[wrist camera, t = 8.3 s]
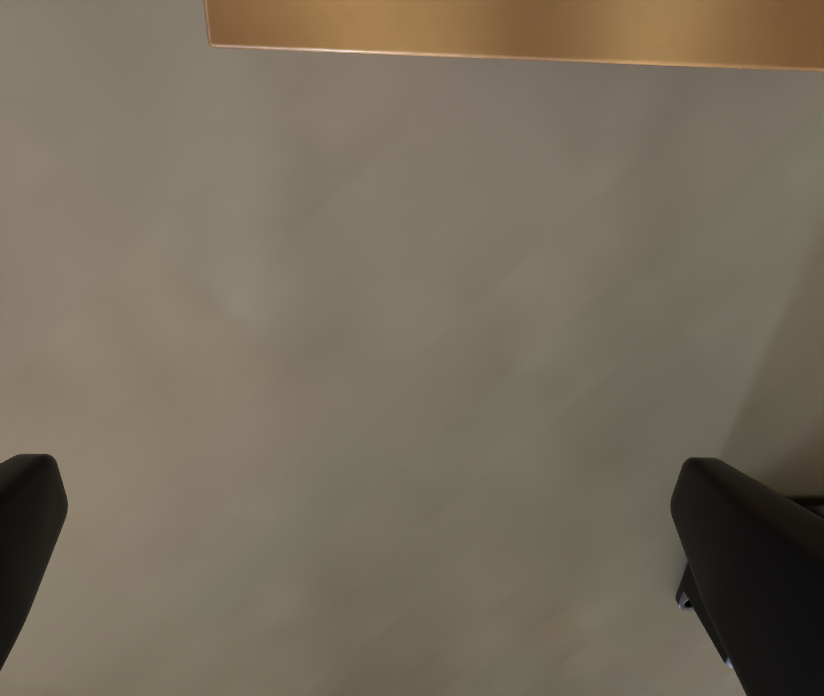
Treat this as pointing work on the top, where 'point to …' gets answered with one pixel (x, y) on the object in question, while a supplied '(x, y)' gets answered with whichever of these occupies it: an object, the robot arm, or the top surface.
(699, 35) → the shelf
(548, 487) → the top surface
